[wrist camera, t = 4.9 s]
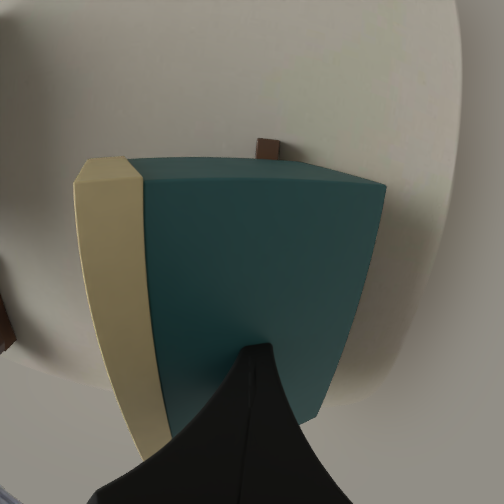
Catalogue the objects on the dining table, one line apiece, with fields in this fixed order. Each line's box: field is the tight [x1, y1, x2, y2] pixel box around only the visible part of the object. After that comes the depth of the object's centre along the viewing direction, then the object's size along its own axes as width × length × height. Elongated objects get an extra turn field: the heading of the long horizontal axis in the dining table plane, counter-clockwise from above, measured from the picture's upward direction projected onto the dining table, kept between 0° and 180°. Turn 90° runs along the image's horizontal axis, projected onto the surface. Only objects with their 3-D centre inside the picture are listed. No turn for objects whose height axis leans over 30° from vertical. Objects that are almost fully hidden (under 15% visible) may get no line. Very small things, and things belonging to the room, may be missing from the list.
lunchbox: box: [73, 156, 387, 462], centre depth 11 cm, size 12×5×9 cm
